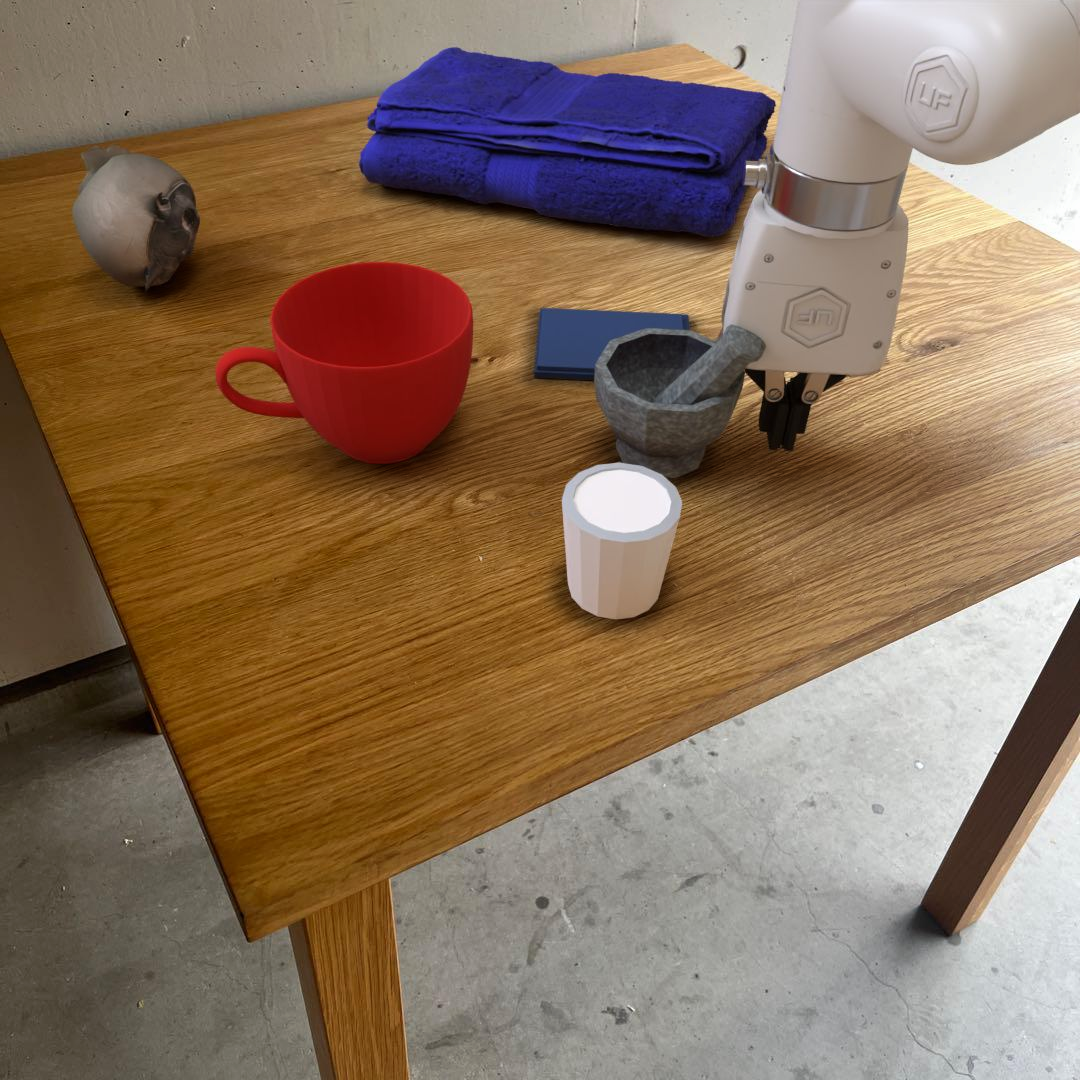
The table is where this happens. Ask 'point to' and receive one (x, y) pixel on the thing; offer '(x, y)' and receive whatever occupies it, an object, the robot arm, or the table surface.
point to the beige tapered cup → (618, 537)
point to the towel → (569, 142)
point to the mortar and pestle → (672, 393)
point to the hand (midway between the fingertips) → (778, 438)
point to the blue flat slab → (588, 338)
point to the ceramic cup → (367, 357)
